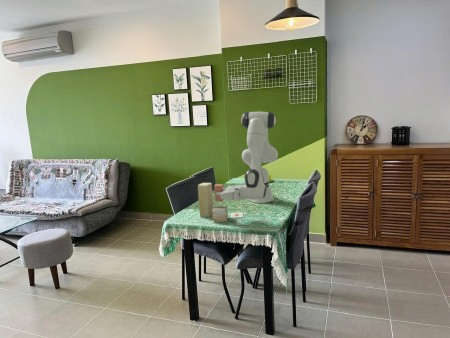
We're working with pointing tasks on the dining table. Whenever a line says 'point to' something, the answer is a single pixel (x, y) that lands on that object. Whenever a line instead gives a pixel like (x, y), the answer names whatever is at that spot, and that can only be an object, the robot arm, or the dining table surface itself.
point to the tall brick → (218, 189)
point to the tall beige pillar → (205, 199)
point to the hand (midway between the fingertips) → (217, 192)
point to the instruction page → (236, 215)
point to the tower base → (216, 219)
